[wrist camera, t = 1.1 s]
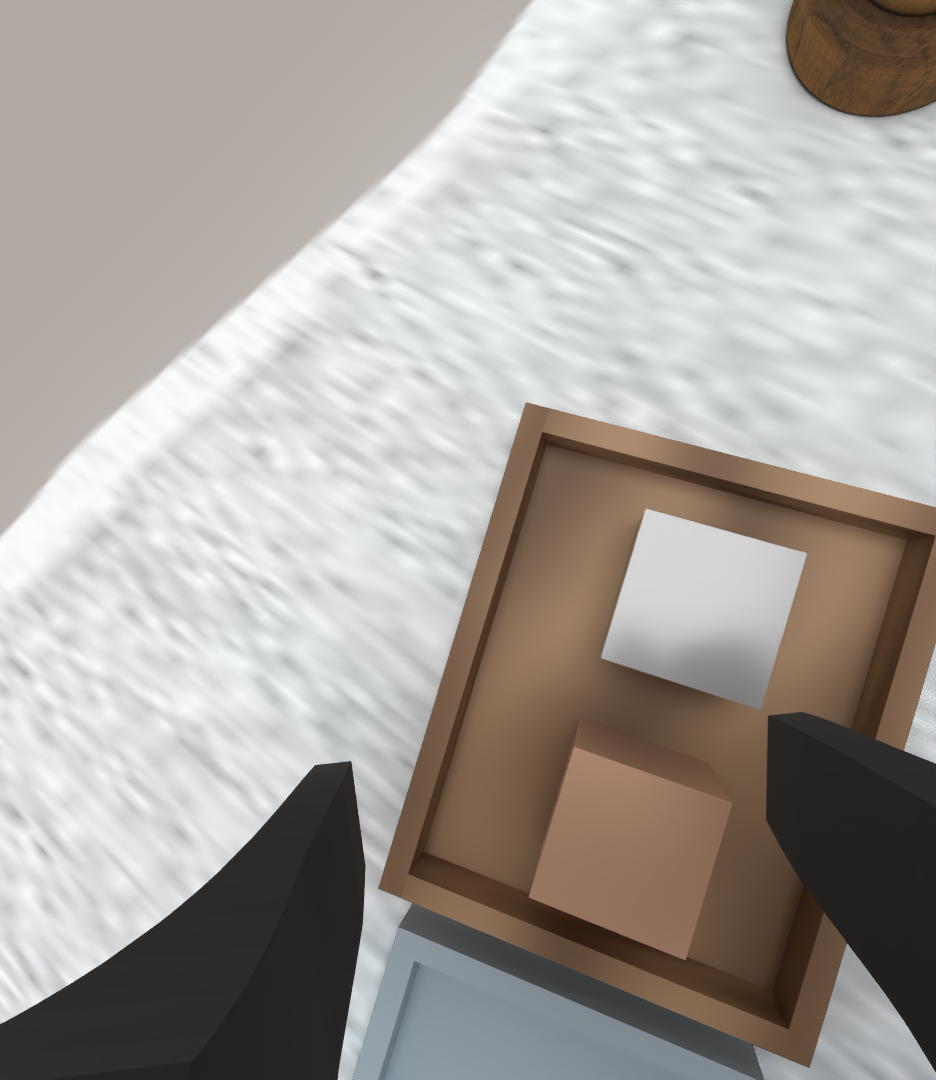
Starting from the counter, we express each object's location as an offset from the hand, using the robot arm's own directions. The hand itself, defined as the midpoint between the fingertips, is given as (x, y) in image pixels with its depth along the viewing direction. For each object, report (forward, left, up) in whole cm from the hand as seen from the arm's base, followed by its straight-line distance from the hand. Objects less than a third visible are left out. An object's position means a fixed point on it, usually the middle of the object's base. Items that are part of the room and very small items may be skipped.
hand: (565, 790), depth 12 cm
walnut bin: (-2, 0, -13) cm, 13 cm away
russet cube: (-2, +3, -13) cm, 13 cm away
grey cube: (-2, -4, -12) cm, 13 cm away
